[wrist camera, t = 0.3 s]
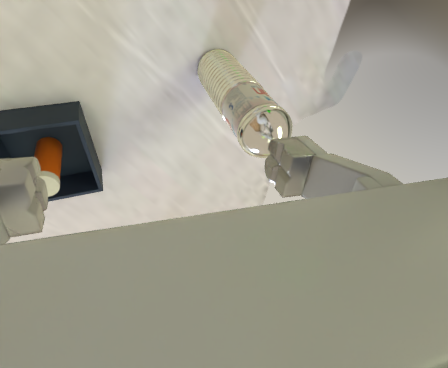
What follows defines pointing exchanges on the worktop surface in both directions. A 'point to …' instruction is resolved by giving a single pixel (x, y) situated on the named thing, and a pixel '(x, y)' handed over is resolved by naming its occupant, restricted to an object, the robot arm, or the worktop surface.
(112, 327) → the robot arm
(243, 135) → the water bottle
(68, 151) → the basket
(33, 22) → the worktop surface
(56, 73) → the worktop surface
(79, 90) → the worktop surface
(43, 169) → the tube
